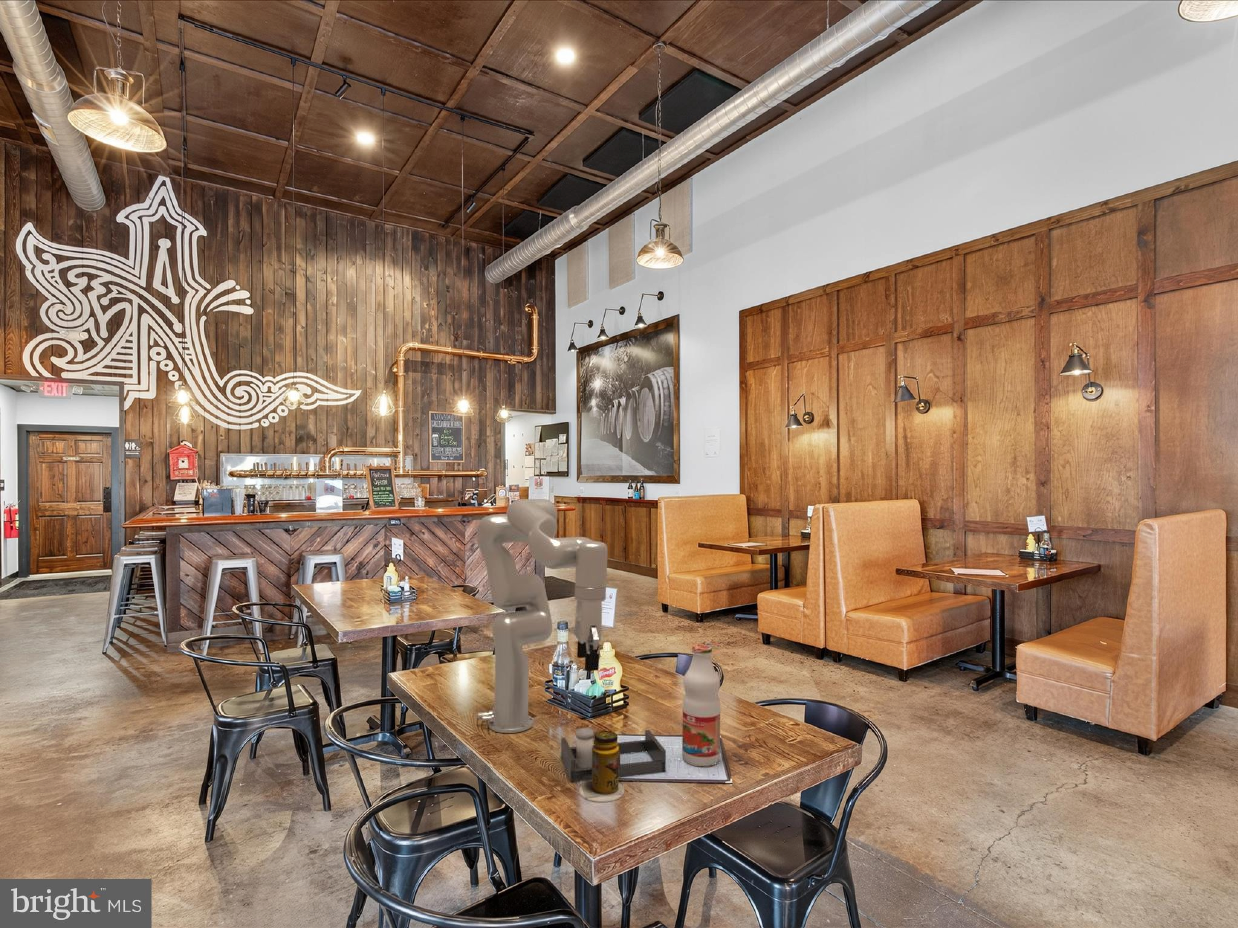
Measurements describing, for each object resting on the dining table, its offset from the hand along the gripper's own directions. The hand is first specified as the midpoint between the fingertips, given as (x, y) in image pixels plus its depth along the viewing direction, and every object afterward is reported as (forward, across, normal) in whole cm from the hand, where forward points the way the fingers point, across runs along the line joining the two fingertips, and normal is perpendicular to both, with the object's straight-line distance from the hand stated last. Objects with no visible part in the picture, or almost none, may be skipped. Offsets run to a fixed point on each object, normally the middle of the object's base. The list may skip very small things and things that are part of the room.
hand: (587, 663), depth 151 cm
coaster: (+25, +12, +2) cm, 28 cm away
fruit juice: (+25, +2, +30) cm, 39 cm away
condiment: (+25, +12, +2) cm, 27 cm away
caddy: (+25, 0, +7) cm, 26 cm away
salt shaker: (+25, -2, +1) cm, 25 cm away
